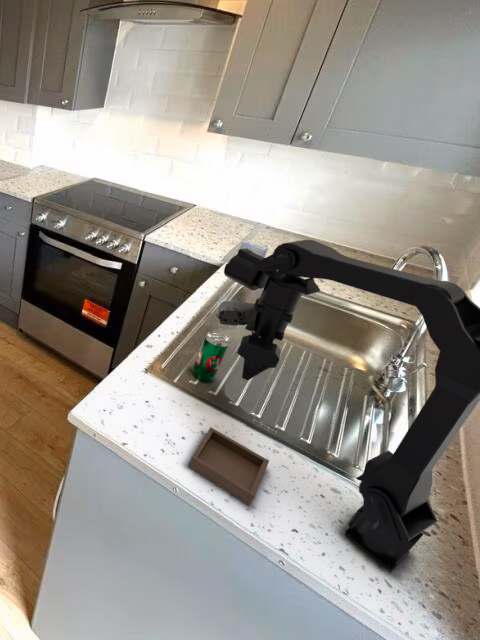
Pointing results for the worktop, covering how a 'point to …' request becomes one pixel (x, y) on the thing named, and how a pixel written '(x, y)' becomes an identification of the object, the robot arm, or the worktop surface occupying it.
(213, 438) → the tray
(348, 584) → the worktop surface
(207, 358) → the soda can
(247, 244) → the medicine box
